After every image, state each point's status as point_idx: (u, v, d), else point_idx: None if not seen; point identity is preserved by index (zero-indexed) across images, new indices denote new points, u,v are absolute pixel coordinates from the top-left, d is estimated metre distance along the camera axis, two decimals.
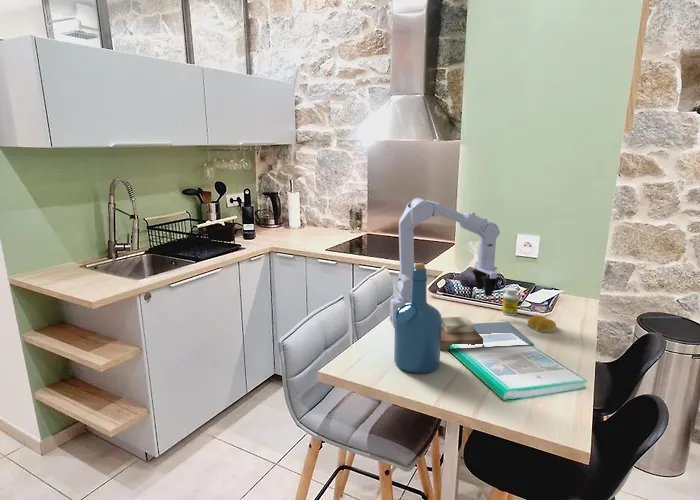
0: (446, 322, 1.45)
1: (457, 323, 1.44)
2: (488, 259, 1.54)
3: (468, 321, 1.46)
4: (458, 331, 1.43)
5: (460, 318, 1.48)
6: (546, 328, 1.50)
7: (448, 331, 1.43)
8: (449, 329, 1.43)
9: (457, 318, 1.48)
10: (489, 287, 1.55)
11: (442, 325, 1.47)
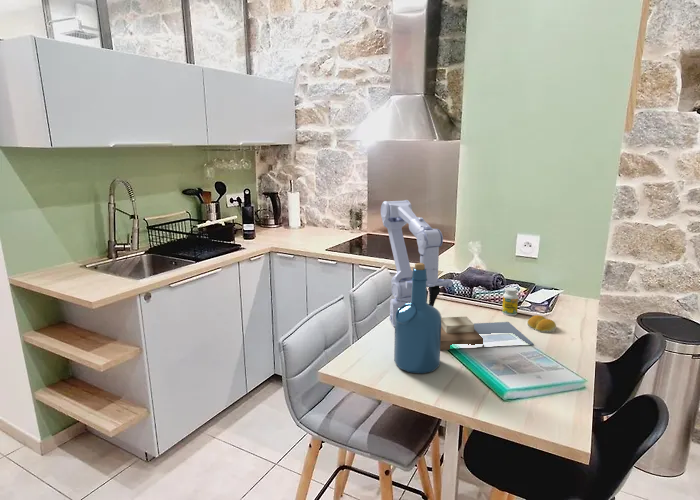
0: (446, 322, 1.45)
1: (457, 323, 1.44)
2: None
3: (468, 321, 1.46)
4: (458, 331, 1.43)
5: (460, 318, 1.48)
6: (546, 328, 1.50)
7: (448, 331, 1.43)
8: (449, 329, 1.43)
9: (457, 318, 1.48)
10: None
11: (442, 325, 1.47)
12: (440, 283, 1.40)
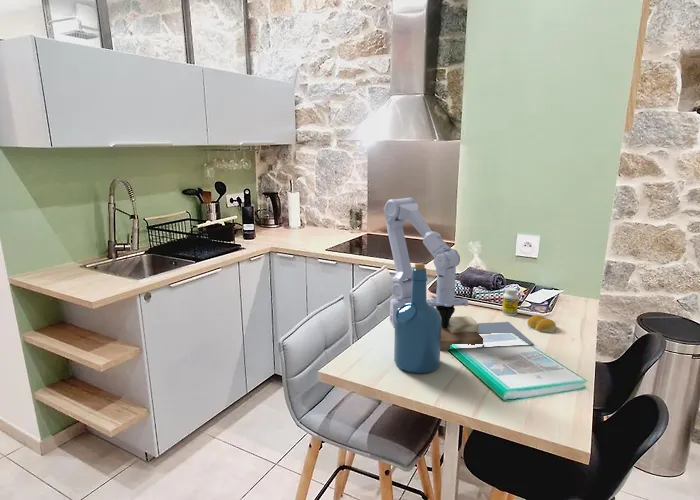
0: (451, 322, 1.45)
1: (461, 323, 1.44)
2: None
3: (473, 321, 1.46)
4: (463, 331, 1.43)
5: (464, 318, 1.48)
6: (545, 328, 1.50)
7: (453, 331, 1.43)
8: (454, 329, 1.43)
9: (461, 318, 1.48)
10: None
11: None
12: (456, 303, 1.42)
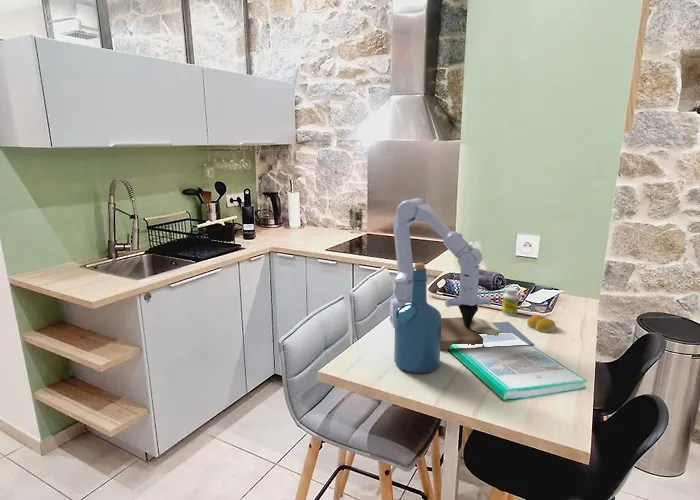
0: (474, 320, 1.46)
1: (484, 324, 1.46)
2: (460, 288, 1.44)
3: (494, 326, 1.47)
4: (483, 332, 1.44)
5: (486, 322, 1.50)
6: (545, 328, 1.50)
7: (474, 329, 1.44)
8: (476, 327, 1.44)
9: (483, 321, 1.50)
10: (464, 316, 1.46)
11: None
12: (480, 302, 1.43)
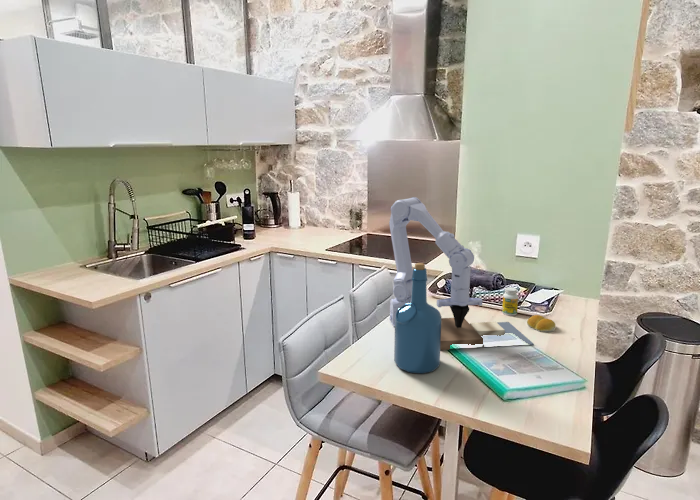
0: (477, 328, 1.47)
1: (487, 328, 1.46)
2: (451, 289, 1.44)
3: (498, 326, 1.48)
4: None
5: (490, 323, 1.50)
6: (545, 328, 1.50)
7: None
8: (480, 335, 1.45)
9: (487, 323, 1.50)
10: (456, 317, 1.46)
11: None
12: (471, 302, 1.43)
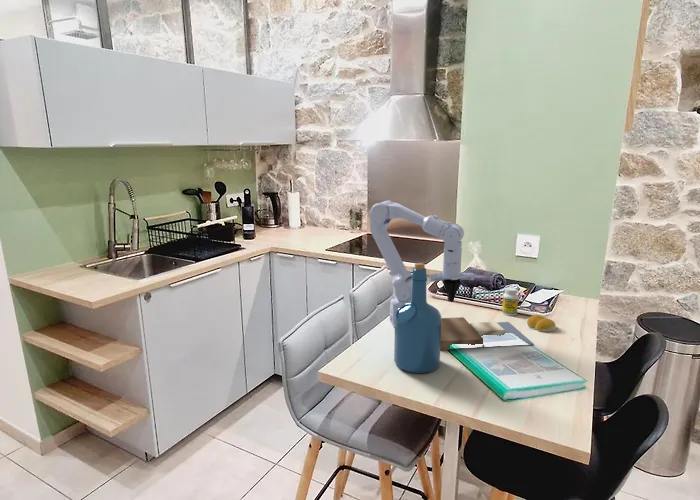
0: (477, 328, 1.47)
1: (487, 328, 1.46)
2: (443, 264, 1.48)
3: (498, 326, 1.48)
4: None
5: (490, 323, 1.50)
6: (545, 328, 1.50)
7: None
8: (480, 335, 1.45)
9: (487, 323, 1.50)
10: None
11: None
12: (463, 276, 1.47)
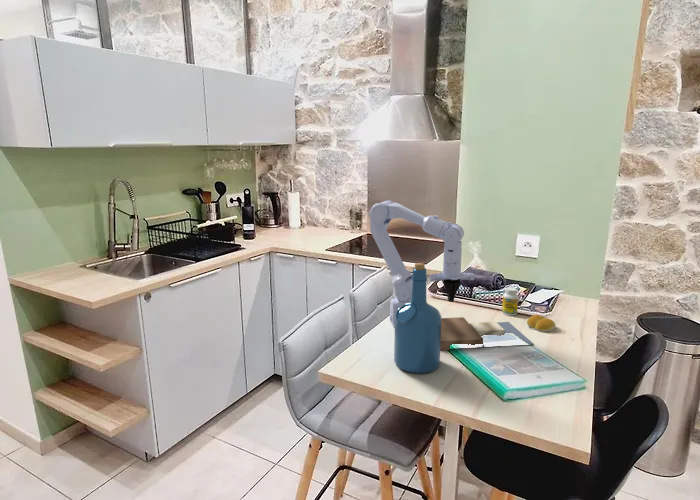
0: (477, 328, 1.47)
1: (487, 328, 1.46)
2: (443, 264, 1.48)
3: (498, 326, 1.48)
4: None
5: (490, 323, 1.50)
6: (545, 328, 1.50)
7: None
8: (480, 335, 1.45)
9: (487, 323, 1.50)
10: None
11: None
12: (463, 276, 1.47)
